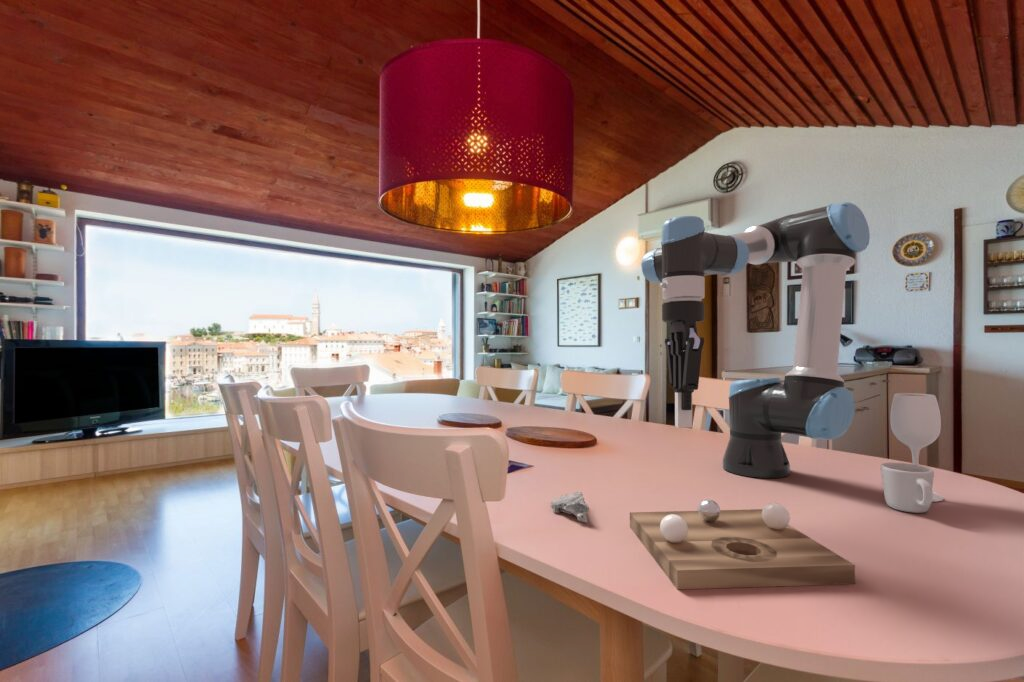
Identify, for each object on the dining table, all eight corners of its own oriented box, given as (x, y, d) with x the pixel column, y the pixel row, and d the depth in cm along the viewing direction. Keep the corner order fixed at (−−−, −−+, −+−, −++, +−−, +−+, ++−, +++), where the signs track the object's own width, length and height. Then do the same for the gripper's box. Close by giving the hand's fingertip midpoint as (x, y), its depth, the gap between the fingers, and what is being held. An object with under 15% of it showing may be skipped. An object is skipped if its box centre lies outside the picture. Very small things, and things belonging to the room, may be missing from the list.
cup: (955, 523, 86) (955, 477, 86) (904, 520, 88) (903, 475, 88) (918, 503, 97) (917, 463, 97) (872, 501, 98) (872, 461, 98)
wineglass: (893, 486, 108) (891, 391, 108) (945, 495, 102) (944, 394, 102) (886, 495, 102) (884, 394, 102) (941, 505, 96) (940, 397, 96)
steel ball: (694, 517, 83) (694, 496, 83) (714, 517, 83) (714, 496, 83) (703, 525, 80) (703, 503, 80) (724, 524, 80) (724, 503, 80)
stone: (554, 527, 87) (555, 504, 87) (548, 502, 100) (549, 482, 99) (590, 527, 87) (591, 504, 87) (580, 503, 100) (580, 482, 100)
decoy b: (656, 536, 75) (656, 510, 75) (682, 536, 75) (681, 510, 75) (665, 547, 71) (665, 520, 71) (692, 547, 71) (692, 519, 71)
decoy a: (756, 524, 80) (756, 499, 80) (780, 523, 80) (780, 499, 80) (770, 533, 76) (770, 508, 76) (795, 533, 76) (795, 507, 76)
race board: (629, 526, 86) (629, 512, 86) (763, 523, 87) (762, 509, 87) (677, 589, 64) (677, 570, 64) (855, 583, 65) (854, 564, 65)
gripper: (651, 304, 98) (652, 421, 98) (676, 297, 85) (677, 433, 85) (688, 304, 98) (689, 421, 98) (718, 297, 85) (719, 432, 85)
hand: (683, 426), depth 91 cm, fingers closed
